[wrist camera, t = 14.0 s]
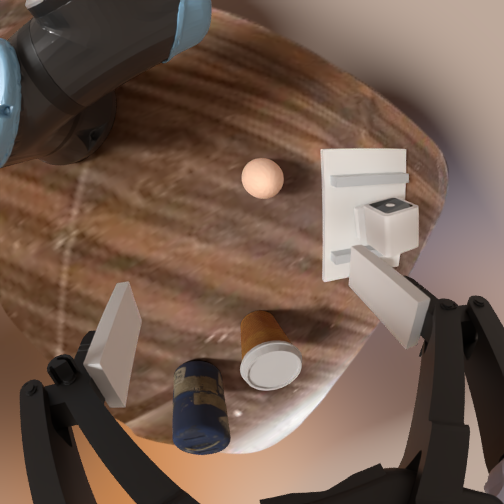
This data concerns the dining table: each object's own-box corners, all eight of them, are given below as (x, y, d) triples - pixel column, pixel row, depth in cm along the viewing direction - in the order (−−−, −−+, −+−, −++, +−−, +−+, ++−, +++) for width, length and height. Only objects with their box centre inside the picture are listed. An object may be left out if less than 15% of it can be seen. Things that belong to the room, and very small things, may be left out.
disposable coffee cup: (287, 301, 50) (310, 345, 39) (279, 343, 53) (297, 389, 42) (233, 302, 48) (244, 350, 37) (229, 345, 51) (239, 394, 41)
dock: (320, 149, 41) (328, 150, 38) (402, 148, 43) (413, 150, 40) (322, 279, 49) (329, 287, 47) (395, 263, 51) (404, 270, 49)
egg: (230, 170, 40) (238, 179, 32) (260, 148, 39) (275, 152, 32) (252, 199, 42) (264, 214, 34) (281, 177, 41) (300, 188, 34)
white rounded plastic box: (382, 190, 44) (420, 206, 34) (385, 229, 46) (420, 251, 37) (350, 198, 43) (385, 216, 34) (354, 239, 46) (387, 264, 37)
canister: (224, 385, 56) (236, 458, 39) (179, 391, 54) (181, 463, 38) (217, 353, 52) (228, 432, 35) (168, 359, 50) (165, 438, 34)
